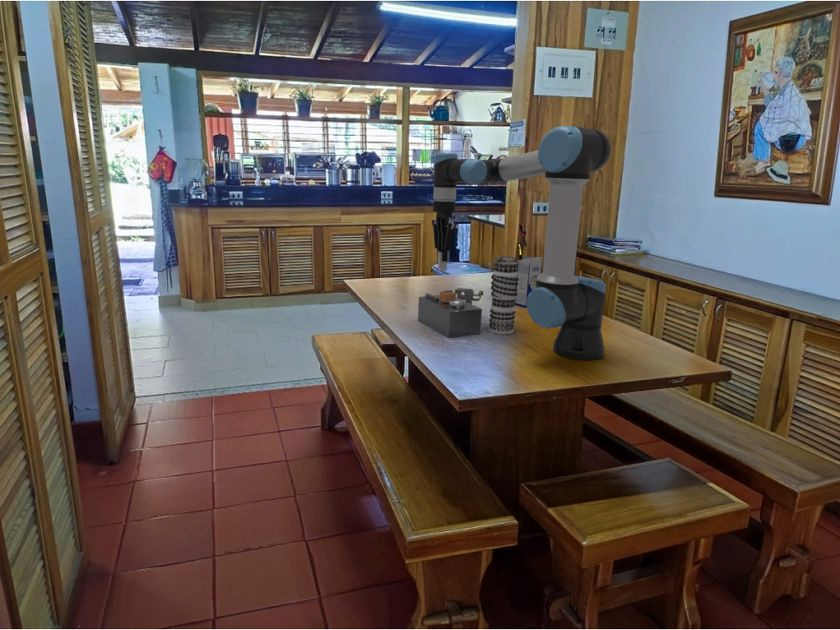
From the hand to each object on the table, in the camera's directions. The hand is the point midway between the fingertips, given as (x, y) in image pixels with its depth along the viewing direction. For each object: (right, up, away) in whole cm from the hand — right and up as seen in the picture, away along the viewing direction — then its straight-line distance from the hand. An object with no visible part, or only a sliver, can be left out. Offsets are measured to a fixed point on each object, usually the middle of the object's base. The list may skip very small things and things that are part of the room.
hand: (442, 270), depth 200 cm
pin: (+4, -20, -5) cm, 21 cm away
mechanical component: (+10, -16, +14) cm, 24 cm away
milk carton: (+35, -12, +34) cm, 50 cm away
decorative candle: (+20, -21, -2) cm, 29 cm away
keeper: (+2, -11, -2) cm, 11 cm away
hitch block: (+2, -19, 0) cm, 19 cm away
